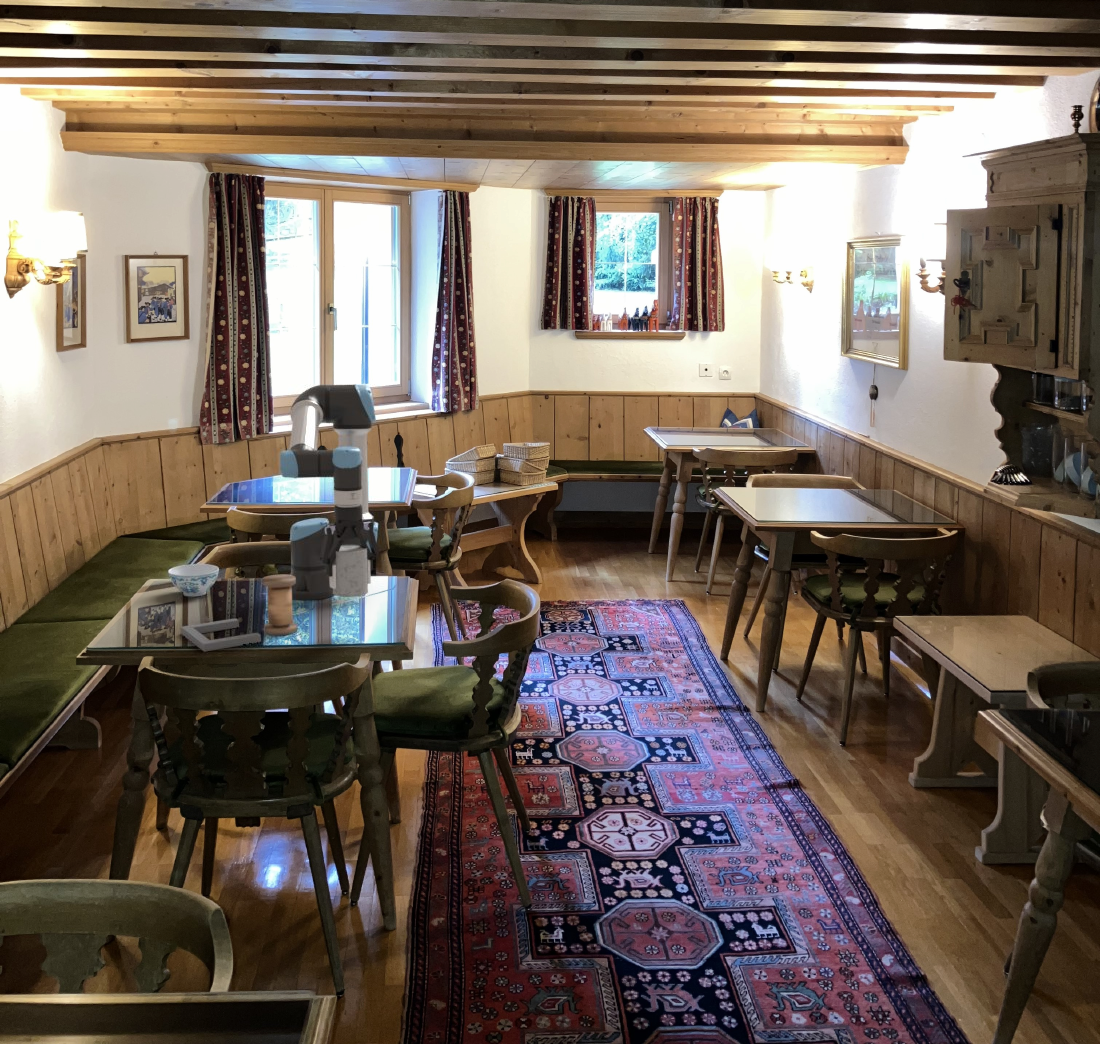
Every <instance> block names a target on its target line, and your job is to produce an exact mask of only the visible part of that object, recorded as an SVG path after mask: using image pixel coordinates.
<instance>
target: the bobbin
mask: <svg viewBox="0 0 1100 1044" xmlns="http://www.w3.org/2000/svg"><path fill="white" fill-rule="evenodd" d="M294 584H296V577H295V576H293V575H290V574H285V573H283V574H271V575H267V576H263V577H262V578H261V585H262V586H264V587H265V588H266V592H267V593H266V595H267V596H266V597H267V615H268V616H267V618H268V619H267V620H268V621H267V623H265V624H264V626H263V627H264V628H263V629H264V630H263V632H264V633H265V634H266V635H270V636H287V635H292V634H294V633H296V632H297V631H298V623H297V622H294V619H293V617H294V616H293V598H292V585H294Z"/></svg>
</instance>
